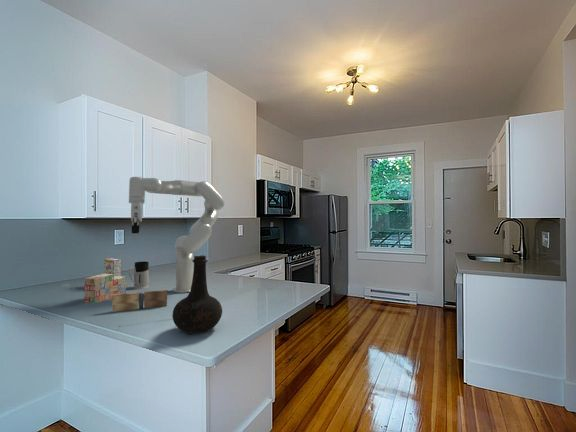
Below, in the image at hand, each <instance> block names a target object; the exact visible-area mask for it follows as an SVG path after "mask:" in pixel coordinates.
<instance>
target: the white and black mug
mask: <svg viewBox="0 0 576 432" xmlns="http://www.w3.org/2000/svg"><path fill="white" fill-rule="evenodd" d="M132 268H133V270H134V271H133V272H134V273H133V275H134V276H133V278H132V273H131V271H132ZM149 272H150V268H149V261H136V262H134V266H133V265H132V266H130V267H129V272H128V273H129V278H130V281H132V282H133V290H134V289H135V290H143V289H149V288H150V284H149V282H150V281H149V279H150V277H149V275H150V273H149Z"/></svg>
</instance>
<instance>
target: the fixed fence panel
mask: <svg viewBox="0 0 576 432" xmlns="http://www.w3.org/2000/svg"><path fill="white" fill-rule="evenodd" d="M167 306H168V290H167V289H158V290H149V291H144V292H139V294H138V310H143V309H150V308H151V309H153V308H160V307H167Z"/></svg>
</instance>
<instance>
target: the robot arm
mask: <svg viewBox="0 0 576 432" xmlns="http://www.w3.org/2000/svg"><path fill="white" fill-rule="evenodd" d="M128 184H129V185H128V186H129V187H128V188H129V189H128V204H130V220H131V224H132V225H131V234H139V233H140V223H142V221H143V205H144V204H145V200H146V199H145V198H146V193H148V194H160V195H161V194H162V195H172V196H173V195H174V196H188V197H202V198H203V199H204V204H203V206H204V212H203V214H202V215H201V216H200V218H198V220H196V221H195V222H194V223H193V224H192V225H191V226H190V228H189V233H190V234H188V235H181V236H179V237H178V238H177V239H176V241H175V248H174V249H175V257H176V258H175V259H176V260H175V263H176V264H175V287H174V288H173V289H172V292H173V293H178V294H179V293H180V294H182V293H185V294H186V293H190V290H191V285H192V279H193V271H194V262H192V260H194V253H196V252H197V251H199V249H200V248H202V246H204V244H205V243H206V242H207V241H208V240H209V238H210V237H211V236H212V234H213V233H212V232H213V231H212V227H213V225H214V224H215V223H216V221H217V220H218V216H219V211H220V210H222V209H223V208H224V206H225V200H224V198H223V197H222V195H221V194H220V193H219V192H218V191H217V190H216V189H215V187H213V186H212V185H211V184H210V183H209V182H207V181H206V180H205V181H204V180H203V181H202V180H201V181H193V180H192V181H190V180H180V179H175V180H160V179H158V178H155V177H142V176H131V177H130V178H129V183H128Z"/></svg>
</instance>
